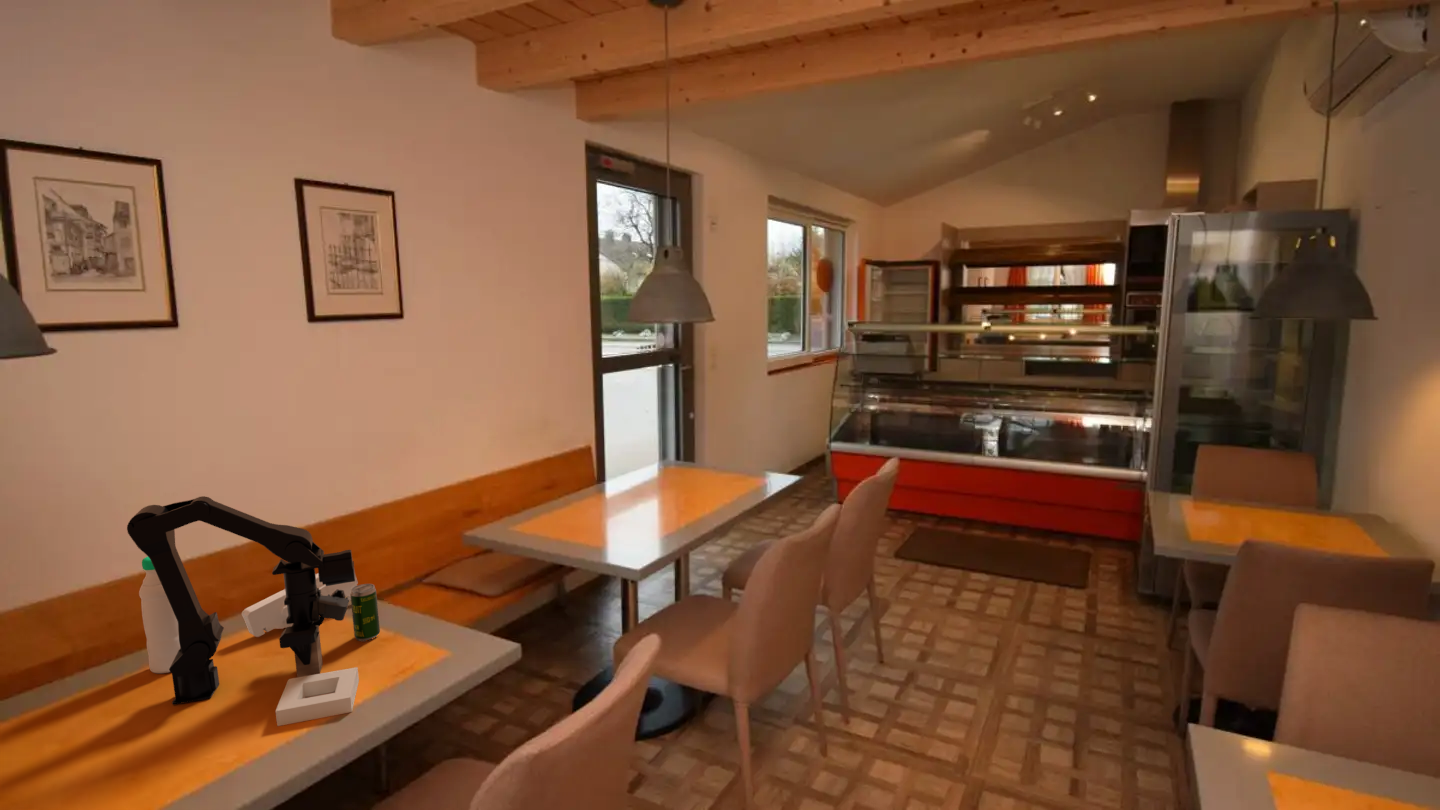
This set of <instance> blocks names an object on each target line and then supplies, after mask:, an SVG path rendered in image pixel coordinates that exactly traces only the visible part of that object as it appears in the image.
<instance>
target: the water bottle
mask: <svg viewBox="0 0 1440 810" xmlns="http://www.w3.org/2000/svg"><path fill="white" fill-rule="evenodd" d="M141 566H142V569H143V571H144V572H145V577H144V578H143V580H142V584H141V586H140V587H139V591H138V596H139V598H140V599H141V601H140V602H141V603H140V604H141V605H140V607H141V616H142V624H143V629H144V633H145V637H146V650H147V653H148V665H149V666H148V667H149V670H150V671H151V672H152V673H153V674H167V673H171V672H170V670H169V668H170V666H171V664H172V662H173V660H174V659H175V657H176V655H177V653H178V651H179V649H180V643H179V632H178V621H177V619H176V617H175V614H174V612H173V610H172V607H171V605H170V603H169V601H168V598H167V596H166V594H165V591H164V589H163V587H162V585H161V582H160V580H159V578H158V575H157V573H156V571H155V569H154V566H153V564H152V562H151V560H150V558H149V557H148V556H146V557H144V558H142V561H141Z"/></svg>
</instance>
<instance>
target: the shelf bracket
mask: <svg viewBox="0 0 1440 810" xmlns="http://www.w3.org/2000/svg"><path fill="white" fill-rule="evenodd" d="M315 575H316V585H317V588H319V590H321V595H324V596H328V594H329V595H330V596H331V595H332V594H333V593H334V592H335V591H336V590H337V589H338V590H343V591H344V594H345V598H346V597H348V600H349V602H351V596H350V594H351V589H352V588H353V587H355V586H358V585H359V581H358V579H357V575H356V574H355V581H354V582H348V583H342V584H336V585H330V586H326V584H323V583H322V582H319V574H318V573H315ZM285 598H286V591H285V588H284V589H283V590H280V591H278V592H276V593H274V594H272V595H270V596H268V597H266V598H265V599H262V600H260V601H258V602H256V603H254V604H252V605H250V606H248V607H245V608H244V610H242V612H241V616H242V618H243V621H244V622H245V625H246V627H247V630H248V632H249V634H250V635H252V636H253V637H256V638H260V637H261V636H263V635H265V634H266V633H269V632H270V631H272V630H274V629H281V630H283V629H284V628H285V629H286V628H287V627H291V626H292V625H293V623H292V624H287V622H286V619H287V617H288V610H287V605H284V600H285ZM265 632H266V633H265Z"/></svg>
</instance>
